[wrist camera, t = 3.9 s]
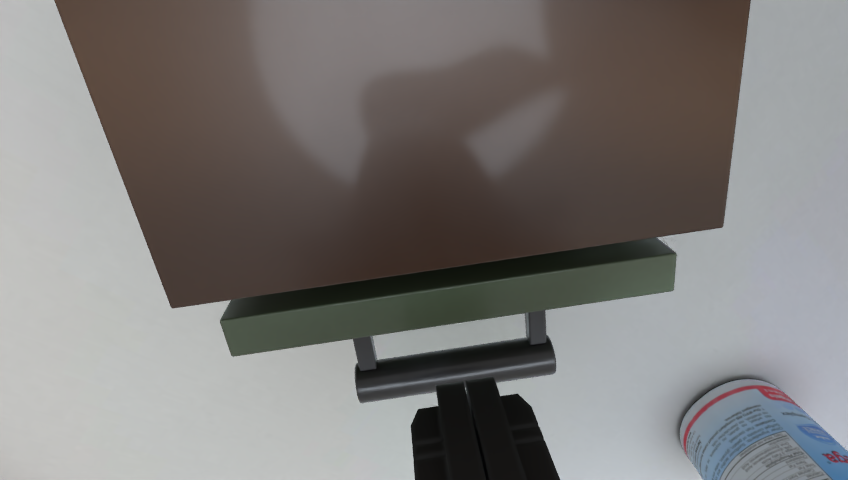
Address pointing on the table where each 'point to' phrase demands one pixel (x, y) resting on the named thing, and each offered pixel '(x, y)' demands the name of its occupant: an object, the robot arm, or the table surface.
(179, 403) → the table surface
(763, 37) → the table surface
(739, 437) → the pill bottle
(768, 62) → the table surface
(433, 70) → the cabinet
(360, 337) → the drawer
